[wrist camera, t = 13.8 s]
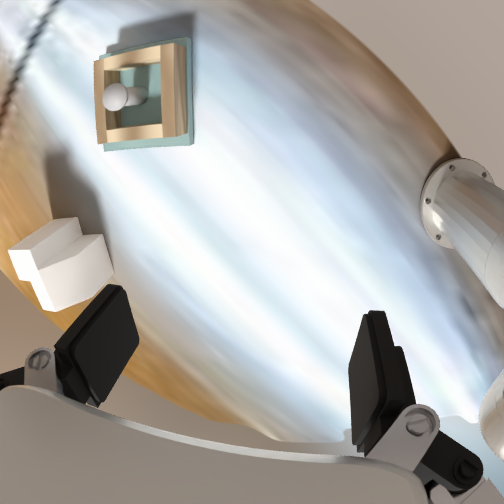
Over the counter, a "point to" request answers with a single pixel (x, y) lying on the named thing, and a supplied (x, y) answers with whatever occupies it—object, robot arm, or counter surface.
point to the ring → (171, 93)
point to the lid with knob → (146, 99)
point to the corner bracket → (62, 263)
